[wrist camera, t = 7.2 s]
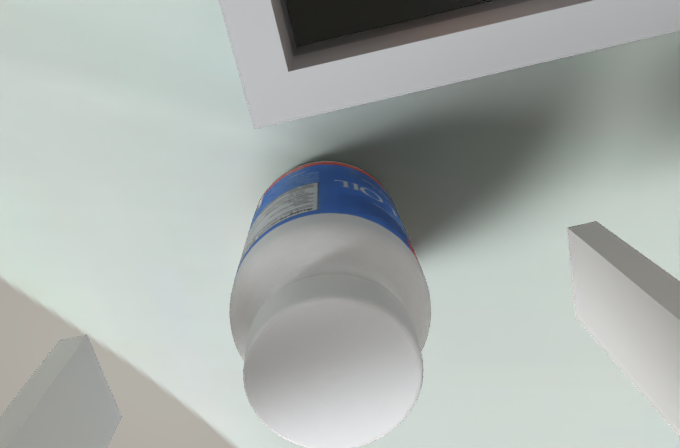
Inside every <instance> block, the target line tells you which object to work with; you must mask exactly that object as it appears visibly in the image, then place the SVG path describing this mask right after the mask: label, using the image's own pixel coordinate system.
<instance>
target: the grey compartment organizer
mask: <svg viewBox="0 0 680 448" xmlns="http://www.w3.org/2000/svg"><path fill="white" fill-rule="evenodd" d="M219 4H220V7H221V11H222V15H223V18H224V22H225V25H226V29H227V33H228V36H229V40H230V43H231V47H232V51H233V54H234V58H235V61H236V65H237V69H238V72H239V76H240V80H241V83H242V87H243V90H244V94H245V98H246V101H247V105H248V108H249V112H250V116H251V119H252V123H253V126H254V129H258V128H263V127H267V126H271V125H276V124H280V123H284V122H289V121H293V120H297V119H302V118H306V117H310V116H315V115H319V114H323V113H328V112H332V111H336V110H340V109H345V108H349V107H353V106H358V105H362V104H366V103H371V102H375V101H379V100H384V99H388V98H392V97H397V96H401V95H405V94H410V93H414V92H418V91H423V90H427V89H431V88H436V87H440V86H444V85H448V84H453V83H457V82H461V81H466V80H470V79H474V78H479V77H483V76H487V75H492V74H496V73H500V72H505V71H509V70H513V69H518V68H522V67H526V66H531V65H535V64H539V63H544V62H548V61H552V60H556V59H561V58H565V57H569V56H574V55H578V54H582V53H587V52H591V51H595V50H600V49H604V48H608V47H613V46H617V45H621V44H626V43H630V42H634V41H639V40H643V39H647V38H652V37H656V36H660V35H664V34H669V33H673V32H677V31H680V0H494V1H490V2H486V3H481V4H477V5H473V6H469V7H464V8H460V9H456V10H452V11H447V12H443V13H439V14H435V15H430V16H426V17H422V18H418V19H413V20H409V21H405V22H401V23H396V24H392V25H388V26H384V27H379V28H375V29H371V30H367V31H362V32H358V33H354V34H350V35H345V36H341V37H337V38H333V39H328V40H324V41H320V42H316V43H311V44H307V45H303V46H299V47H296V43H295V39H294V34H293V30H292V26H291V22H290V18H289V14H288V9H287V5H286V1H285V0H219Z"/></svg>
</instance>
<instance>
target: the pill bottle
mask: <svg viewBox="0 0 680 448" xmlns="http://www.w3.org/2000/svg"><path fill="white" fill-rule="evenodd" d="M430 320H431V304H430V295H429V290H428V286H427V282H426V279H425V276H424V274H423V271H422V268H421V266H420V264H419V261H418V259H417V257H416V255H415V252H414V250H413V248H412V245H411V243H410V241H409V238H408V236H407V233H406V231H405V229H404V226H403V224H402V222H401V219H400V217H399V215H398V212H397V210H396V208H395V205H394V203H393V201H392V199H391V197H390V196H389V194H388V193H387V191H386V190H385V189H384V187H383V186H382V185H381V184H380V183H379V182H378V181H377V180H376V179H375V178H374V177H373V176H371V175H370V174H368V173H367V172H365V171H364V170H362V169H360V168H358V167H355V166H353V165H350V164H346V163H342V162H336V161H318V162H312V163H308V164H304V165H301V166H299V167H296V168H294V169H292V170H290V171H288V172H286V173H285V174H283V175H282V176H281V177H279V178H278V179H277V180H276V181H275V182H274V183H273V184H272V185H271V186H270V187H269V188H268V189H267V191H266V192H265V193H264V195H263V196H262V198H261V199H260V201H259V203H258V206H257V209H256V211H255V214H254V217H253V220H252V223H251V227H250V230H249V233H248V237H247V240H246V243H245V246H244V250H243V253H242V256H241V260H240V263H239V266H238V270H237V273H236V277H235V280H234V284H233V289H232V293H231V299H230V324H231V330H232V335H233V338H234V342H235V345H236V348H237V349H238V351H239V353H240V355H241V357H242V359H243V360H244V369H243V380H244V387H245V391H246V395H247V398H248V400H249V403H250V404H251V406H252V408H253V410H254V412H255V413H256V414H257V416H258V417H259V418H260V419H261V421H262V422H263V423H264V424H265V425H266V426H267V427H268V428H269V429H270V430H272V431H273V432H274V433H276V434H277V435H279V436H280V437H282V438H284V439H286V440H288V441H290V442H292V443H294V444H297V445H300V446H304V447H307V448H355V447H359V446H362V445H365V444H368V443H370V442H373V441H375V440H377V439H379V438H381V437H383V436H385V435H386V434H388V433H389V432H390V431H392V430H393V429H395V428H396V427H397V426H398V425H399V424H400V423H401V422H402V421H403V420H404V419H405V417H406V416H407V415H408V414H409V412H410V411H411V410H412V408H413V406H414V404H415V402H416V400H417V398H418V395H419V393H420V390H421V386H422V381H423V360H422V355H421V351H422V349H423V347H424V344H425V342H426V339H427V336H428V332H429V327H430Z"/></svg>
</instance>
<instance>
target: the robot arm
mask: <svg viewBox="0 0 680 448" xmlns="http://www.w3.org/2000/svg"><path fill="white" fill-rule="evenodd" d="M567 229H568V240H569V250H570V261H571V272H572V283H573V293H574V304H575V315H576V319H577V320H578V321H579V322H580V323H581V325H582V326H583V327H584V328H585V329H586V330H587V331H588V333H589V334H590V335H591V336H592V337H593V338H594V339H595V341H596V342H597V343H598V344H599V345H600V346H601V347H602V349H603V350H604V351H605V352H606V353H607V354H608V355H609V357H610V358H611V359H612V360H613V361H614V362H615V363H616V365H617V366H618V367H619V368H620V369H621V370H622V372H623V373H624V374H625V375H626V376H627V377H628V378H629V380H630V381H631V382H632V383H633V384H634V385H635V386H636V388H637V389H638V390H639V391H640V392H641V393H642V394H643V396H644V397H645V398H646V399H647V400H648V401H649V402H650V404H651V405H652V406H653V407H654V408H655V409H656V410H657V412H658V413H659V414H660V415H661V416H662V417H663V418H664V420H665V421H666V422H667V423H668V424H669V425H670V426H671V428H672V429H673V430H674V431H675V432H676V433H677V434H678V436H679V437H680V281H678V280H677V279H676V278H674V277H673V276H671V275H670V274H669V273H667V272H666V271H665V270H663V269H662V268H660V267H659V266H658V265H656V264H655V263H653V262H652V261H651V260H649V259H648V258H647V257H645V256H644V255H642V254H641V253H640V252H638V251H637V250H635V249H634V248H633V247H631V246H630V245H629V244H627V243H626V242H624V241H623V240H622V239H620V238H619V237H617V236H616V235H615V234H613V233H612V232H610V231H609V230H608V229H606V228H605V227H604V226H602V225H601V224H599V223H598V222H597V221H595V222H590V223H586V224H581V225H577V226H572V227H568V228H567ZM121 418H122V415H121V413H120V410H119V408H118V406H117V404H116V401H115V399H114V396H113V394H112V392H111V389H110V387H109V385H108V382H107V380H106V378H105V375H104V373H103V371H102V368H101V366H100V364H99V361H98V359H97V357H96V354H95V352H94V350H93V347H92V345H91V343H90V340H89V338H88V336H87V334H86V335H81V336H77V337H72V338H68V339H63V340H60V341H59V342H58V343H57V344H56V346H55V347H54V349H53V350H52V351H51V352H50V353H49V355H48V356H47V357H46V358H45V360H44V361H43V362H42V364H41V365H40V367H39V368H38V369H37V370H36V371H35V373H34V374H33V375H32V376H31V378H30V379H29V380H28V382H27V383H26V384H25V385H24V387H23V388H22V389H21V391H20V392H19V393H18V395H17V396H16V397H15V398H14V400H13V401H12V402H11V404H10V405H9V406H8V407H7V408H6V410H5V411H4V412H3V414H2V415H1V416H0V448H107V447H108V445H109V443H110V441H111V439H112V436H113V434H114V432H115V430H116V428H117V426H118V424H119V422H120V420H121Z"/></svg>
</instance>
